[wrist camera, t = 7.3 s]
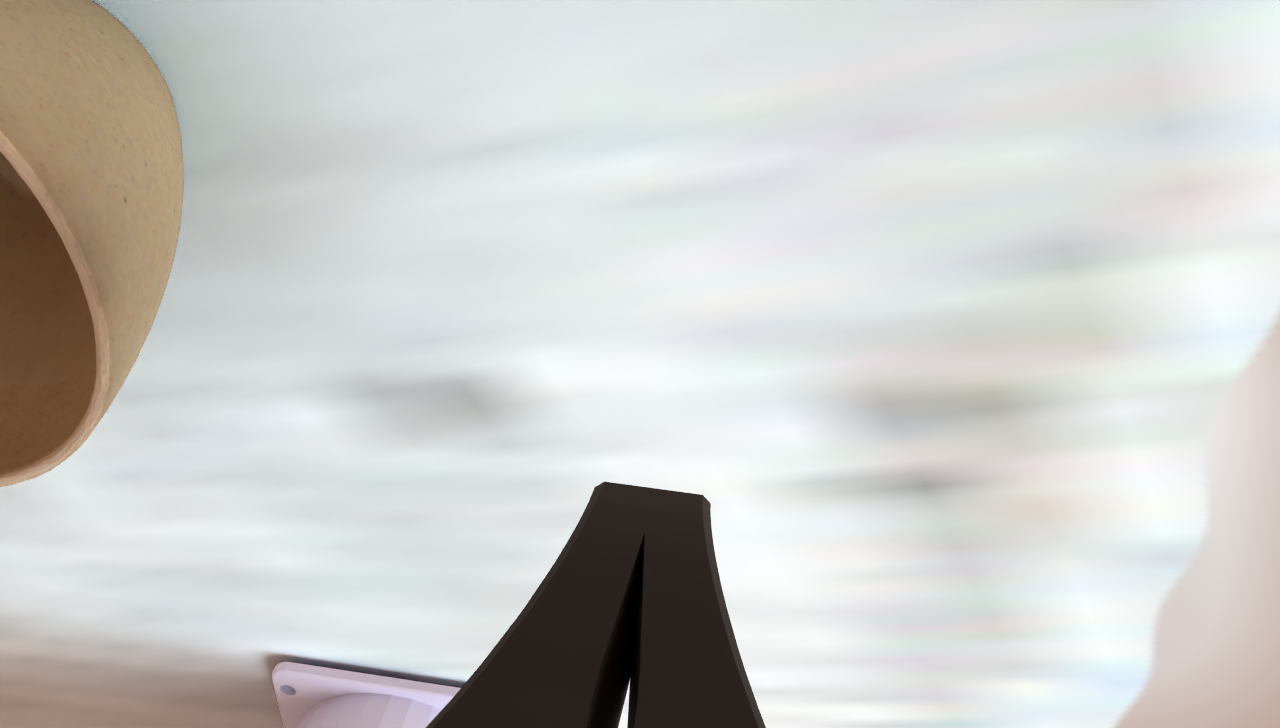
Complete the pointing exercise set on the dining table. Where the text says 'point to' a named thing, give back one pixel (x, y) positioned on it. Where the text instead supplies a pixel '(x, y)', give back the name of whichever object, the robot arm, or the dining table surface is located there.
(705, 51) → the dining table surface
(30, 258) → the flower pot
